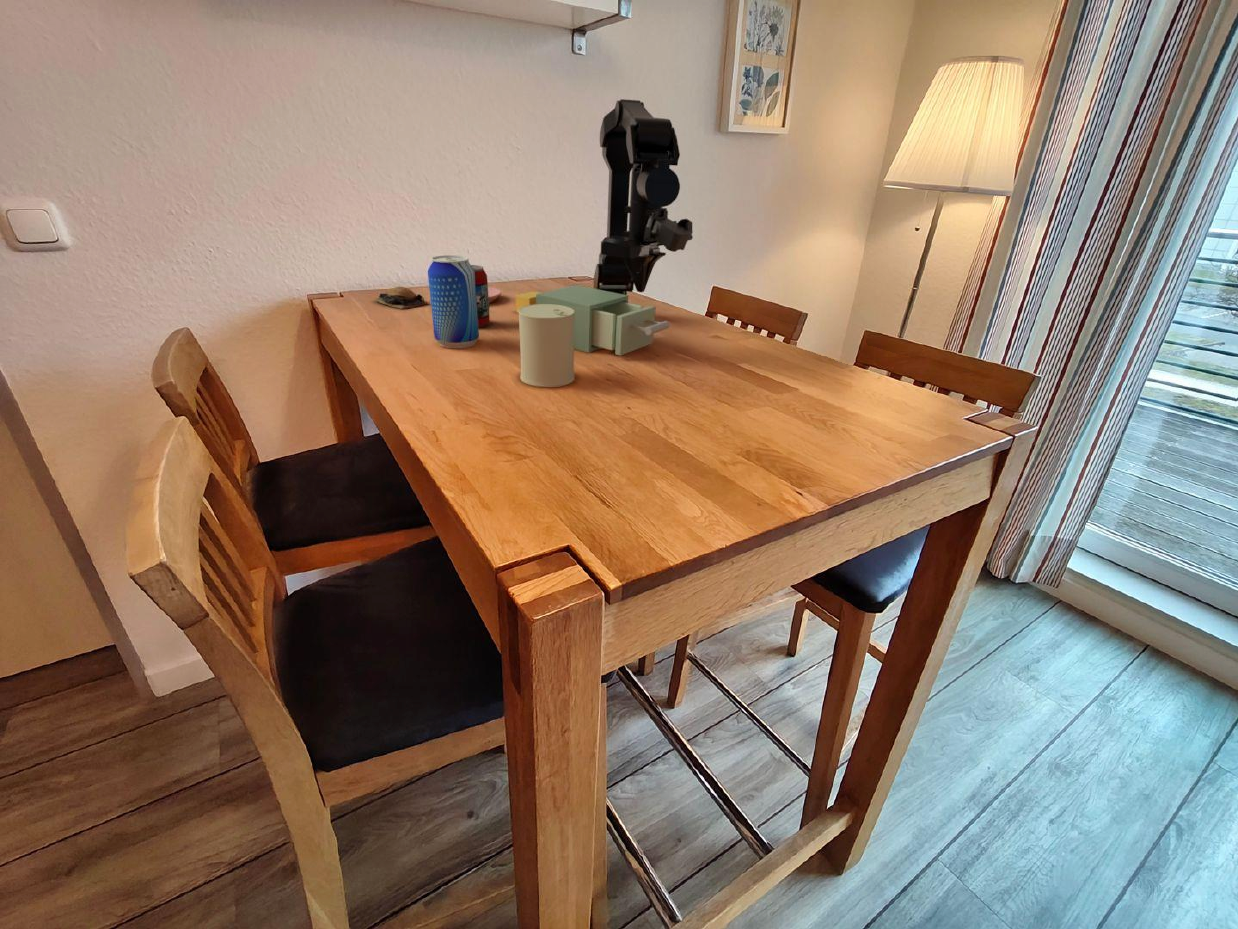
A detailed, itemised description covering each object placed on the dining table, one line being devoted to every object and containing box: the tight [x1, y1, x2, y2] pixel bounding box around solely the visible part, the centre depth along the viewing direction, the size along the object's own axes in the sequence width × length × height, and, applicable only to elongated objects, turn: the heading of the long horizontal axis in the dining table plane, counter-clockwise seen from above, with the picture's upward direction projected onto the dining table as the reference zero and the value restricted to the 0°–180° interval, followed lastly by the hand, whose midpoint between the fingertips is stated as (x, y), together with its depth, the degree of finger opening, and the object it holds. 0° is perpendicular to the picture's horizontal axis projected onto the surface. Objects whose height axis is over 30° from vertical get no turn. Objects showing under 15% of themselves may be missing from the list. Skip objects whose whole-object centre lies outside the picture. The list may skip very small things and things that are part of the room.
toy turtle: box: [374, 286, 428, 310], centre depth 140 cm, size 11×8×4 cm
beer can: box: [427, 254, 480, 350], centre depth 111 cm, size 8×8×16 cm
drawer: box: [591, 302, 671, 356], centre depth 114 cm, size 17×11×7 cm, turn 54°
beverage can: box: [470, 264, 491, 328], centre depth 125 cm, size 7×7×12 cm
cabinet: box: [536, 284, 629, 354], centre depth 119 cm, size 14×13×9 cm
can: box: [517, 304, 575, 388], centre depth 97 cm, size 9×9×12 cm
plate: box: [488, 286, 502, 304], centre depth 147 cm, size 14×14×2 cm
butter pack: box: [515, 290, 539, 314], centre depth 138 cm, size 4×6×4 cm
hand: (640, 291), depth 110 cm, fingers closed
